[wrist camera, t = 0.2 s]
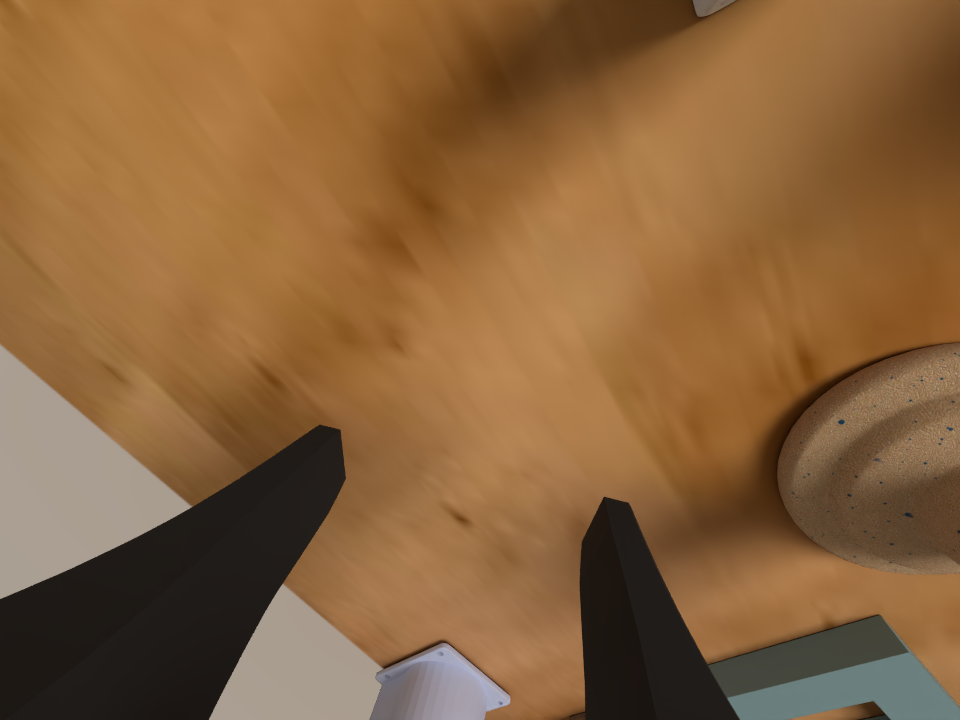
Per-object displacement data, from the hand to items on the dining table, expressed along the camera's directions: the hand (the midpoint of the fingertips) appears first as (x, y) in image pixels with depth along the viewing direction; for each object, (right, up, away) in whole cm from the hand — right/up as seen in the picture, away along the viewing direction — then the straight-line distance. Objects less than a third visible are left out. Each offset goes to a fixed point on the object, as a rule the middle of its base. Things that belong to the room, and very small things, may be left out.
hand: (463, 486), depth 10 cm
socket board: (+23, -20, +15) cm, 34 cm away
